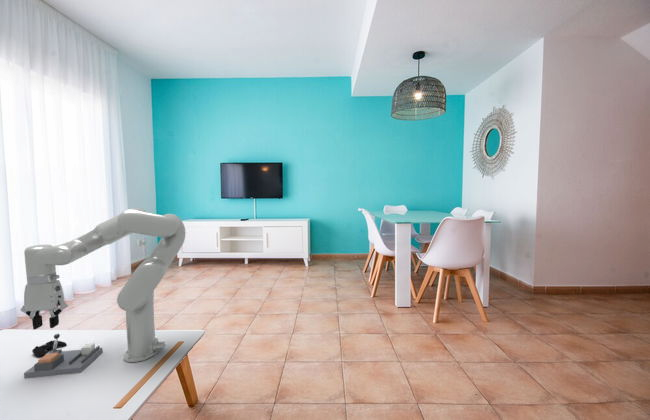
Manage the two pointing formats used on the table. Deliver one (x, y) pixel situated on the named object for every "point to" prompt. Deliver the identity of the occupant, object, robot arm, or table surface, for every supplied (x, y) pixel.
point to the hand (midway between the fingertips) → (46, 326)
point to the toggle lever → (55, 341)
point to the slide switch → (87, 348)
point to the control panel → (64, 363)
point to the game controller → (46, 348)
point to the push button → (48, 358)
